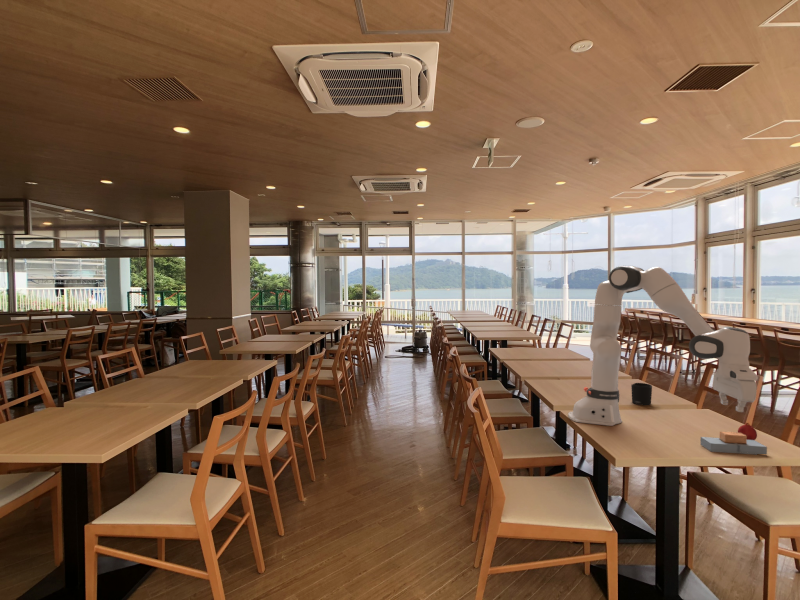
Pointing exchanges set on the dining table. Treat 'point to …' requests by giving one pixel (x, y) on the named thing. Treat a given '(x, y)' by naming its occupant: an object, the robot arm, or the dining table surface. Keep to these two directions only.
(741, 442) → the clip
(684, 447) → the dining table surface
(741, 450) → the grey flat block
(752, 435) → the onion
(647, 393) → the pen holder
